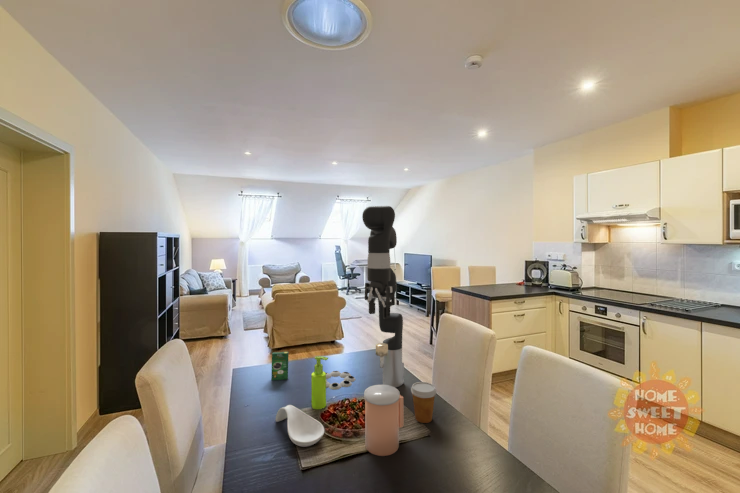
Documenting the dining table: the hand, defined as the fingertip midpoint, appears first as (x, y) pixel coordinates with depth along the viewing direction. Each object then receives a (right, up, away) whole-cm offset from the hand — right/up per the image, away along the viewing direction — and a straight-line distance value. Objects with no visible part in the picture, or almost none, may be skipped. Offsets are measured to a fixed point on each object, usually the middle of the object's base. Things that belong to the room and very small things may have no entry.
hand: (378, 316), depth 103 cm
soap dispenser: (-23, -42, +25) cm, 54 cm away
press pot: (+2, -42, +1) cm, 42 cm away
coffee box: (-47, -42, +50) cm, 81 cm away
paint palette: (-20, -43, +49) cm, 68 cm away
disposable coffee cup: (+17, -42, +15) cm, 48 cm away
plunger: (+1, -17, 0) cm, 17 cm away
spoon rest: (-29, -43, +6) cm, 52 cm away
